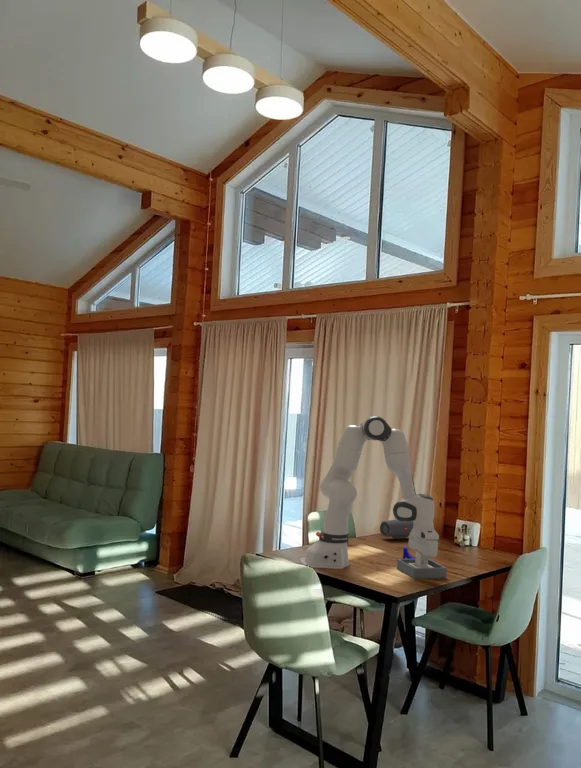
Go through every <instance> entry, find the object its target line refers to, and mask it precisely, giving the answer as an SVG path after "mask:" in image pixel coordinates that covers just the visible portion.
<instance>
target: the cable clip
mask: <svg viewBox="0 0 581 768" xmlns="http://www.w3.org/2000/svg"><path fill="white" fill-rule="evenodd" d="M402 559H416V556H414V555H412V554H411V553H410V552H409V551H408V546H404V547H403V553H402Z"/></svg>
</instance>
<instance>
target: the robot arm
mask: <svg viewBox="0 0 581 768" xmlns="http://www.w3.org/2000/svg"><path fill="white" fill-rule="evenodd" d="M367 441H378V442H380V444H381V445H382V448H383V454H384V460H385V464H386V466H387V469H388V470H389V471H390V472H391V473H393V474H394V475H395V476H396V477H397V479H398V482H399V487H400V491H401V496H402V498H401V500H399V501H397V502H396V503H395V504H394V505H393V507H392V514H393V517H395V520H399V521H402V522H407V521H413V522H414V525H413V528H412V530H411V532H410V535H409V536H408V547H409V548H411V549H412V550H414V553H415V555H416V549H417V550H418V551H420V552H421V553H422V554H423V557H424V558H423V560H422V564H424V565H425V564H427V560H428V558H429V559H430V558H436V557H437V556H438V551H439V549H438V547H439V541H438V540H439V539H440V535H439V534H438V532H437V531H436V530H435V528H434V518H435V501H434V498H433V497H432V496H430V495H428V494H424V493H418V494H417V491H416V488H415V483H414V478H413V474H412V467H411V459H410V452H409V447H408V442H407V439H406V435H405V433H404V432H403V431H402V429H399V428H392V427H391V426H390V424H389V423H387V421H386V420H385V419H384V418H383V417H381V416H377V415H371V416H368V417H367V418H366V419H365V420H364V421H363V422H362V423H361V424H359V425H356V424H355V425H354V424H351V425H347V426H345V428H344V430H343V432H342V434H341V436H340V439H339V441H338V445H337V447H336V452H335V455H334V459H333V461H332V463H331V465H330V468H329V470H328V471H327V474H326V476H324V478H323V479H322V480H321V482H320V486H319V487H320V488H319V489H320V492H321V493H322V495H323V496H324V497H325V498H327V499H328V500H329V501H328V506H327V510H326V512H325V513H324V517H323V531H322V532H320V531H316V533H315V536H316V537H318V540H317V541H316V542H314V543H313V544H311V545H310V546H309V547H307V548H306V550H305V554H304V557H302V558H300V559H299V562H300V563H301V564H302V565H304V566H305V565H308V566H311V567H310V568H313V569H314V568H315V569H316V568H317V569H318V568H320V569H332V570H333V569H334V570H337V569H338V570H343V569H345V568H347V567H349V566H350V560H349V551H348V545H349V539H350V538H349V520H350V519H349V517H350V512H351V510H352V505H353V503H354V502H355V501H356V500H357V496H358V492H357V488H356V487H355V485H354V484H353V483H352V482H350V481H349V480H350V478H351V477H352V475H353V473H354V472H355V471H357V469H358V467H359V463H360V459H361V455H362V452H363V448H364V445H365V443H366V442H367ZM308 566H307V567H308Z"/></svg>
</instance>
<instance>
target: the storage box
mask: <svg viewBox="0 0 581 768" xmlns="http://www.w3.org/2000/svg"><path fill="white" fill-rule="evenodd" d="M415 563H416V559H407V558H406V559H403V558H397V559H396V569H397V570H398V571H400V572H401V573H403V574H405V575H407V576H408V577H410V578H411V579H447V571H448V570H447V567H445V566H444V565H442V564H440V563H439V562H436V561H434V560H433V559H431V558H430V557H429V558H428V568H418V567H416V566H415Z"/></svg>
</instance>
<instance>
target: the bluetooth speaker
mask: <svg viewBox="0 0 581 768" xmlns="http://www.w3.org/2000/svg"><path fill="white" fill-rule="evenodd" d="M413 525H414V522H413V521H407V522H402V521H399V520H397V519H391V520H383V521H382V522H381V523H380V526H379V532H380V534H381V535H382V536H383V537H387V538H390V537H391V538H392V539H405V538H409V535H410V532H411V530H412V528H413Z"/></svg>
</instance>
